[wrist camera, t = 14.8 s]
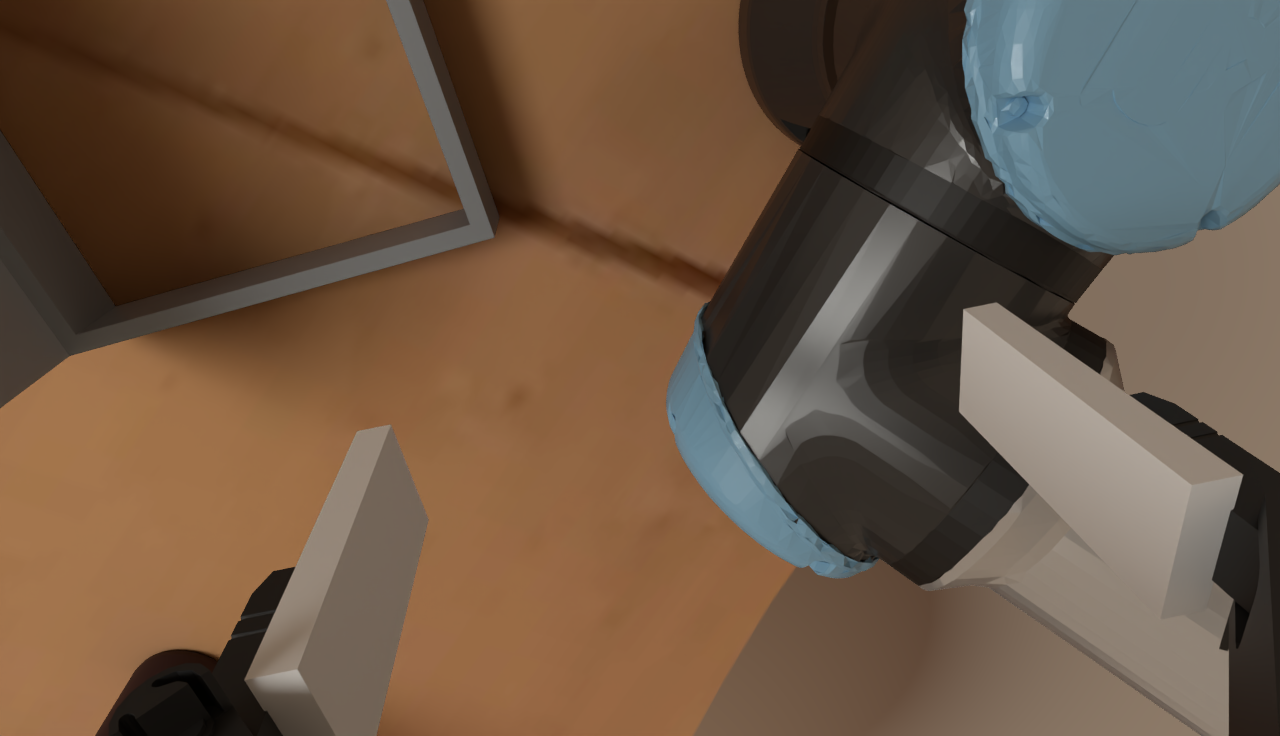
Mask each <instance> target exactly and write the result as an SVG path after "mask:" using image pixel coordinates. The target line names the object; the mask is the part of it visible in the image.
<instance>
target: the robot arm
mask: <svg viewBox="0 0 1280 736" xmlns="http://www.w3.org/2000/svg"><path fill="white" fill-rule="evenodd" d="M739 45H740V53H741V58H742V63H743V68H744V71H745V75H746V78H747V81H748V83H749V86H750V88H751V91H752V93H753V95H754V97H755V99H756V101H757V102H758V104H759V106H760V107H761V109H762V110H763V112H764V113H765V115H766V116H767V117H768V118H769V120H770V121H771V122H772V123H773V124H774V125H775V126H776V127H777V128H778V129H779V130H780V131H781V132H782V133H783V134H784V135H786V136H787V137H788V138H789V139H791V140H792V141H794V142H795V143H797V144H799V145H800V146H801V147H800V149H798V151H797V152H796V154H795V156H794V158H793V160H792V161H791V163H790V165H789V167H788V168H787V170H786V172H785V173H784V175H783V177H782V179H781V180H780V182H779V184H778V186H777V187H776V189H775V191H774V192H773V194H772V196H771V198H770V199H769V201H768V203H767V205H766V206H765V208H764V210H763V211H762V213H761V215H760V217H759V218H758V220H757V222H756V224H755V225H754V227H753V229H752V231H751V232H750V234H749V236H748V237H747V239H746V241H745V243H744V244H743V246H742V248H741V250H740V251H739V253H738V255H737V256H736V258H735V260H734V262H733V263H732V265H731V267H730V269H729V270H728V272H727V274H726V275H725V277H724V279H723V281H722V282H721V284H720V286H719V288H718V289H717V291H716V293H715V294H714V296H713V298H712V300H711V301H710V302H708V303H705V304H704V305H703V307H702V308H701V309H700V311H699V312H698V314H697V317H696V320H695V326H694V332H693V334H692V336H691V338H690V340H689V342H688V344H687V346H686V348H685V350H684V352H683V354H682V356H681V358H680V360H679V362H678V364H677V366H676V368H675V370H674V372H673V374H672V376H671V378H670V381H669V385H668V390H667V398H666V407H667V414H668V419H669V423H670V427H671V429H672V431H673V433H674V435H675V442H676V445H677V447H678V450H679V452H680V454H681V456H682V457H683V459H684V461H685V463H686V465H687V466H688V468H689V469H690V471H691V472H692V474H693V475H694V477H695V478H696V480H697V481H698V482H699V484H700V485H701V487H702V488H703V489H704V491H705V492H706V493H707V494H708V495H709V497H710V498H711V499H712V500H713V501H714V502H715V503H716V504H717V506H718V507H719V508H720V509H721V510H722V511H723V512H724V513H725V514H726V515H727V516H728V517H729V518H730V519H731V520H732V521H733V522H734V523H735V524H736V525H737V526H738V527H740V528H741V529H742V530H743V531H744V532H745V533H747V534H748V535H749V536H750V537H752V538H753V539H754V540H755V541H756V542H758V543H759V544H760V545H762V546H763V547H765V548H766V549H767V550H769V551H770V552H772V553H773V554H775V555H777V556H778V557H780V558H782V559H783V560H785V561H787V562H789V563H791V564H793V565H795V566H797V567H800V568H802V567H806V566H808V565H809V566H810V567H811V568H812V569H813V570H814V572H816V574H818V575H822V576H826V577H831V578H847V577H851V576H853V575H855V574H857V573H859V572H861V571H866V570H867V569H869V568H871V567H873V566H874V565H875V564H876V562H877V561H878V560H879V559H881V560H883V561H884V562H886V563H887V564H889V565H890V566H891V567H893V568H894V569H896V570H897V571H899V572H900V573H901V574H903V575H904V576H906V577H907V578H908V579H910V580H911V581H912V582H914V583H915V584H917V585H918V586H920V587H921V588H922V589H924V590H928V591H931V590H939V589H947V588H954V587H962V586H970V585H975V586H982V587H989V588H990V589H992V590H993V591H994V592H996V593H998V594H999V595H1000V596H1002V597H1003V598H1004V599H1006V600H1007V601H1009V602H1010V603H1012V604H1013V605H1015V606H1016V607H1017V608H1019V609H1020V610H1022V611H1023V612H1025V613H1026V614H1027V615H1029V616H1030V617H1032V618H1033V619H1035V620H1036V621H1037V622H1039V623H1040V624H1042V625H1043V626H1045V627H1046V628H1048V629H1049V630H1050V631H1052V632H1053V633H1055V634H1056V635H1058V636H1059V637H1061V638H1062V639H1063V640H1065V641H1066V642H1068V643H1069V644H1071V645H1072V646H1073V647H1075V648H1076V649H1078V650H1079V651H1081V652H1082V653H1084V654H1085V655H1086V656H1088V657H1089V658H1091V659H1092V660H1093V661H1095V662H1096V663H1098V664H1099V665H1101V666H1102V667H1104V668H1105V669H1106V670H1108V671H1109V672H1111V673H1112V674H1113V675H1115V676H1117V677H1118V678H1119V679H1121V680H1122V681H1124V682H1125V683H1126V684H1128V685H1129V686H1131V687H1132V688H1134V689H1135V690H1136V691H1138V692H1139V693H1141V694H1142V695H1144V696H1145V697H1146V698H1148V699H1149V700H1151V701H1152V702H1154V703H1155V704H1157V705H1158V706H1159V707H1161V708H1162V709H1164V710H1165V711H1167V712H1168V713H1169V714H1171V715H1172V716H1174V717H1175V718H1177V719H1178V720H1180V721H1181V722H1182V723H1184V724H1185V725H1187V726H1188V727H1190V728H1191V729H1192V730H1194V731H1195V732H1197V733H1198V734H1200V735H1201V736H1280V473H1279V472H1277V471H1276V470H1274V469H1273V468H1271V467H1270V466H1268V465H1267V464H1265V463H1264V462H1262V461H1261V460H1259V459H1257V458H1256V457H1254V456H1253V455H1252V454H1250V453H1248V452H1247V451H1246V450H1244V449H1243V448H1241V447H1240V446H1238V445H1236V444H1235V443H1233V442H1232V441H1230V440H1229V439H1227V438H1226V437H1224V436H1223V435H1220V436H1219V435H1218V434H1217V431H1215V430H1214V429H1212V428H1211V427H1209V426H1208V425H1206V424H1205V423H1203V422H1202V423H1199V421H1198V419H1197V418H1196V417H1194V416H1193V415H1191V414H1190V413H1188V412H1186V411H1185V410H1184V409H1182V408H1181V407H1179V406H1177V405H1176V404H1174V403H1172V402H1169V401H1166V400H1163V399H1161V398H1158V397H1155V396H1152V395H1150V394H1147V393H1144V392H1142V393H1138V394H1133V395H1128V394H1127V393H1125V392H1124V387H1123V382H1122V378H1121V374H1120V369H1119V364H1118V359H1117V355H1116V350H1115V348H1114V345H1113V344H1112V343H1110V342H1109V341H1108V340H1106V339H1104V338H1102V337H1099V336H1098V335H1096V334H1094V333H1093V332H1091V331H1089V330H1087V329H1086V328H1084V327H1082V326H1080V325H1079V324H1077V323H1075V322H1073V321H1072V320H1070V319H1069V318H1068V313H1069V312H1070V310H1071V309H1072V307H1073V306H1074V302H1075V303H1076V302H1077V301H1078V299H1079V298H1080V297H1081V296H1082V294H1083V293H1084V292H1085V291H1086V289H1087V288H1088V287H1089V286H1090V284H1091V283H1092V282H1093V281H1094V279H1095V278H1096V277H1097V276H1098V274H1099V273H1100V272H1101V271H1102V269H1103V268H1104V267H1105V266H1106V265H1107V263H1108V262H1109V261H1110V260H1111V258H1112V257H1113V256H1114V255H1119V254H1123V253H1127V254H1132V253H1143V252H1156V251H1162V250H1167V249H1173V248H1176V247H1179V246H1182V245H1184V244H1187V243H1188V242H1190V241H1192V240H1193V239H1194V237H1195V235H1196V232H1197V231H1198V230H1202V229H1208V230H1218V229H1222V228H1223V227H1225V226H1227V225H1229V224H1230V223H1232V222H1234V221H1235V220H1237V219H1238V218H1240V217H1241V216H1243V215H1244V214H1246V213H1247V212H1248V211H1249V210H1251V209H1252V208H1253V207H1255V206H1256V205H1257V204H1258V203H1259V202H1260V201H1261V200H1263V199H1264V198H1265V197H1266V196H1267V195H1268V194H1269V193H1270V192H1271V191H1272V190H1273V189H1275V188H1276V187H1277V186H1278V185H1279V184H1280V0H741V2H740V10H739ZM428 520H429V519H428V517H427V514H426V512H425V509H424V507H423V504H422V502H421V499H420V497H419V494H418V492H417V489H416V487H415V484H414V481H413V479H412V476H411V474H410V471H409V469H408V466H407V464H406V461H405V459H404V456H403V454H402V451H401V449H400V446H399V444H398V441H397V439H396V436H395V434H394V431H393V429H392V426H391V425H386V426H381V427H376V428H371V429H366V430H361V431H357V433H356V435H355V437H354V439H353V442H352V444H351V446H350V448H349V450H348V453H347V455H346V457H345V459H344V461H343V464H342V466H341V468H340V470H339V472H338V475H337V477H336V479H335V481H334V483H333V486H332V488H331V490H330V492H329V494H328V497H327V499H326V501H325V503H324V505H323V508H322V510H321V512H320V514H319V517H318V519H317V521H316V523H315V525H314V528H313V530H312V532H311V534H310V536H309V539H308V541H307V543H306V545H305V547H304V550H303V552H302V554H301V556H300V558H299V561H298V563H297V565H296V567H292V568H287V569H282V570H277V571H273V572H272V573H271V574H270V575H269V576H268V577H267V579H266V580H265V581H264V582H263V583H262V584H261V585H260V586H259V587H258V588H257V589H256V590H255V591H254V592H253V593H252V595H251V597H250V599H249V601H248V603H247V605H246V607H245V609H244V611H243V613H242V615H241V621H238V623H237V625H236V627H235V629H234V631H233V633H232V635H231V637H232V639H231V640H229V641H228V643H227V645H226V647H225V648H224V650H223V652H222V654H221V656H220V658H219V660H218V662H217V664H216V666H215V668H214V670H213V672H212V673H211V671H210V670H209V669H208V668H206V667H205V666H203V665H202V664H199V663H184V664H181V665H177V666H174V667H170V668H167V669H166V670H164V671H162V672H160V673H158V674H156V675H154V676H152V677H150V678H149V679H147V680H146V681H145V682H143V683H142V684H141V685H140V686H138V687H137V688H136V689H134V690H133V691H132V692H131V693H130V694H129V695H128V696H127V697H126V698H125V699H124V701H123V702H122V703H121V704H120V705H119V706H118V707H117V709H116V711H115V713H114V715H113V717H112V719H111V721H110V723H109V736H376V735H377V731H378V727H379V723H380V719H381V715H382V710H383V706H384V702H385V698H386V694H387V690H388V686H389V681H390V677H391V673H392V669H393V665H394V661H395V657H396V652H397V648H398V644H399V640H400V636H401V632H402V628H403V623H404V619H405V615H406V611H407V607H408V603H409V599H410V594H411V590H412V586H413V582H414V578H415V574H416V570H417V565H418V561H419V557H420V553H421V549H422V545H423V541H424V536H425V532H426V528H427V524H428Z"/></svg>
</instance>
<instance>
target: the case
mask: <svg viewBox="0 0 1280 736" xmlns="http://www.w3.org/2000/svg"><path fill="white" fill-rule="evenodd" d="M386 1H387V4H388V7H389V9H390V12H391V15H392V17H393V20H394V23H395V25H396V28H397V31H398V33H399V36H400V39H401V41H402V44H403V47H404V49H405V52H406V55H407V57H408V60H409V63H410V65H411V68H412V71H413V73H414V76H415V79H416V81H417V84H418V87H419V89H420V92H421V95H422V97H423V100H424V103H425V105H426V108H427V111H428V113H429V116H430V119H431V121H432V124H433V127H434V129H435V132H436V135H437V138H438V140H439V143H440V146H441V148H442V151H443V154H444V156H445V159H446V162H447V164H448V167H449V170H450V172H451V175H452V178H453V180H454V183H455V186H456V188H457V191H458V194H459V196H460V199H461V202H462V204H463V207H464V209H462V210H458V211H455V212H451V213H448V214H444V215H440V216H437V217H433V218H430V219H426V220H423V221H419V222H415V223H412V224H408V225H405V226H401V227H398V228H394V229H390V230H387V231H383V232H380V233H376V234H373V235H369V236H365V237H362V238H358V239H355V240H351V241H348V242H344V243H340V244H337V245H333V246H330V247H326V248H323V249H319V250H315V251H312V252H308V253H305V254H301V255H298V256H294V257H290V258H287V259H283V260H280V261H276V262H272V263H269V264H265V265H262V266H258V267H255V268H251V269H247V270H244V271H240V272H237V273H233V274H230V275H226V276H222V277H219V278H215V279H212V280H208V281H205V282H201V283H197V284H194V285H190V286H187V287H183V288H180V289H176V290H172V291H169V292H165V293H162V294H158V295H155V296H151V297H147V298H144V299H140V300H137V301H133V302H130V303H126V304H122V305H119V306H115V305H114V303H113V302H112V300H111V299H110V297H109V296H108V294H107V293H106V291H105V290H104V288H103V287H102V285H101V283H100V282H99V280H98V279H97V277H96V276H95V274H94V273H93V271H92V270H91V268H90V267H89V265H88V264H87V262H86V261H85V259H84V258H83V256H82V254H81V253H80V251H79V250H78V248H77V247H76V245H75V244H74V242H73V241H72V239H71V238H70V236H69V235H68V233H67V232H66V230H65V229H64V227H63V225H62V224H61V222H60V221H59V219H58V218H57V216H56V215H55V213H54V212H53V210H52V209H51V207H50V206H49V204H48V203H47V201H46V200H45V198H44V196H43V195H42V193H41V192H40V190H39V189H38V187H37V186H36V184H35V183H34V181H33V180H32V178H31V177H30V175H29V174H28V172H27V171H26V169H25V167H24V166H23V164H22V163H21V161H20V160H19V158H18V157H17V155H16V154H15V152H14V151H13V149H12V148H11V146H10V145H9V143H8V142H7V140H6V138H5V137H4V135H3V134H2V132H1V131H0V408H1V407H2V406H4V405H5V404H6V403H8V402H9V401H10V400H12V399H13V398H14V397H16V396H17V395H18V394H20V393H21V392H22V391H24V390H25V389H26V388H28V387H29V386H30V385H32V384H33V383H34V382H36V381H37V380H38V379H40V378H41V377H42V376H44V375H45V374H46V373H48V372H49V371H50V370H52V369H53V368H54V367H56V366H57V365H58V364H59V363H61V362H62V361H63V360H65V359H66V358H67V357H69V356H71V355H75V354H78V353H82V352H85V351H89V350H93V349H96V348H100V347H103V346H107V345H111V344H114V343H118V342H121V341H125V340H129V339H132V338H136V337H139V336H143V335H146V334H150V333H154V332H157V331H161V330H164V329H168V328H172V327H175V326H179V325H182V324H186V323H190V322H193V321H197V320H200V319H204V318H207V317H211V316H215V315H218V314H222V313H225V312H229V311H233V310H236V309H240V308H243V307H247V306H251V305H254V304H258V303H261V302H265V301H268V300H272V299H276V298H279V297H283V296H286V295H290V294H294V293H297V292H301V291H304V290H308V289H312V288H315V287H319V286H322V285H326V284H329V283H333V282H337V281H340V280H344V279H347V278H351V277H355V276H358V275H362V274H365V273H369V272H373V271H376V270H380V269H383V268H387V267H390V266H394V265H398V264H401V263H405V262H408V261H412V260H416V259H419V258H423V257H426V256H430V255H434V254H437V253H441V252H444V251H448V250H451V249H455V248H459V247H462V246H466V245H469V244H473V243H477V242H480V241H484V240H487V239H491V238H494V237H495V234H496V230H497V225H498V221H499V214H498V211H497V209H496V206H495V203H494V200H493V197H492V194H491V192H490V189H489V186H488V183H487V180H486V177H485V175H484V172H483V169H482V166H481V163H480V160H479V157H478V155H477V152H476V149H475V146H474V143H473V140H472V138H471V135H470V132H469V129H468V126H467V123H466V121H465V118H464V115H463V112H462V109H461V106H460V103H459V101H458V98H457V95H456V92H455V89H454V86H453V84H452V81H451V78H450V75H449V72H448V69H447V67H446V64H445V61H444V58H443V55H442V52H441V50H440V47H439V44H438V41H437V38H436V35H435V32H434V30H433V27H432V24H431V21H430V18H429V15H428V13H427V10H426V7H425V4H424V1H423V0H386Z"/></svg>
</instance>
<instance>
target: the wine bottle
mask: <svg viewBox="0 0 1280 736" xmlns="http://www.w3.org/2000/svg"><path fill="white" fill-rule="evenodd" d="M184 663H199V664H202V665H203V666H205V667H206V668H208V669H209V670H210V671H211V673H212V672H213V670H214V668H215V666H216V664H217V661H215V660H214V659H212V658H209V657H207V656H205V655H202V654H199V653H195V652H189V651H167V652H162V653H159V654H156V655H153V656H151V657H150V658H148V659H147V660H145V661H144V662H143V663H142V664H141V665H140V666H139V667H138V668H137V669H136V670H135V672H134V673H133V675H132V677H131V678H130V680H129V681H128V683H127V685H126V686H125V688H124V690H123V691H122V693H121V694H120V696H119V698H118V699H117V701H116V703H115V704H114V706H113V707H112V709H111V711H110V712H109V714H108V716H107V717H106V719H105V720H104V722H103V724H102V725H101V727H100V729H99V730H98V732H97V734H96V735H95V736H109V723H110V721H111V719H112V717H113V715H114V713H115V711H116V709H117V707H118V706H119V705H120V704H121V703H122V702H123V701H124V699H125V698H126V697H127V696H128V695H129V694H130V693H131V692H132V691H133V690H134V689H136V688H137V687H138V686H140V685H141V684H142V683H143V682H145V681H146V680H147V679H149V678H150V677H152V676H154V675H156V674H158V673H160V672H162V671H164V670H166V669H167V668H170V667H174V666H177V665H181V664H184Z"/></svg>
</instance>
